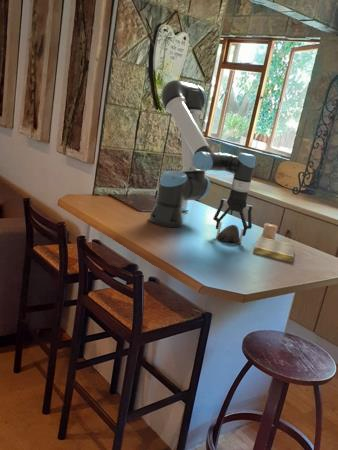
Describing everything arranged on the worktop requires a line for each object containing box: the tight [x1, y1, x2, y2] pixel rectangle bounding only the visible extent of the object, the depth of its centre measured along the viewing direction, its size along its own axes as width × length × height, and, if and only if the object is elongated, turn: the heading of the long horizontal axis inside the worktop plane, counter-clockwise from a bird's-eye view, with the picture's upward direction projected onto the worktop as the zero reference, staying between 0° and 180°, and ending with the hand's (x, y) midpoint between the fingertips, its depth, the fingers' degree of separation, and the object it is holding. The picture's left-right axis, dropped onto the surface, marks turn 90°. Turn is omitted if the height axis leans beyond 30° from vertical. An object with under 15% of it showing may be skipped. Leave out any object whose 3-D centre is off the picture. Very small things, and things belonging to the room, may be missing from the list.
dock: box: [252, 235, 295, 263], centre depth 189 cm, size 16×18×3 cm
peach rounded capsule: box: [261, 222, 279, 240], centre depth 205 cm, size 6×6×7 cm
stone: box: [216, 224, 240, 245], centre depth 193 cm, size 10×8×10 cm
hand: (228, 239), depth 194 cm, fingers open, 9 cm apart
